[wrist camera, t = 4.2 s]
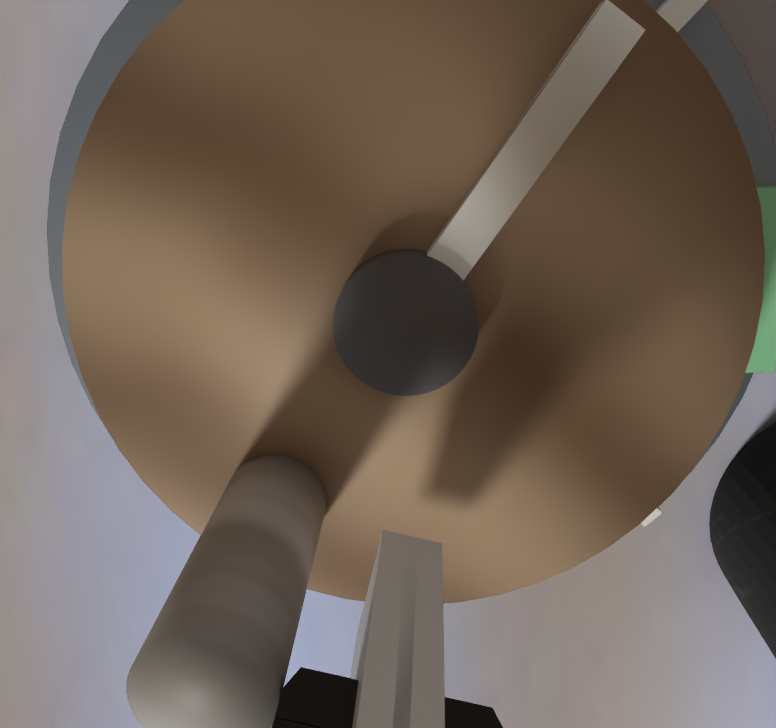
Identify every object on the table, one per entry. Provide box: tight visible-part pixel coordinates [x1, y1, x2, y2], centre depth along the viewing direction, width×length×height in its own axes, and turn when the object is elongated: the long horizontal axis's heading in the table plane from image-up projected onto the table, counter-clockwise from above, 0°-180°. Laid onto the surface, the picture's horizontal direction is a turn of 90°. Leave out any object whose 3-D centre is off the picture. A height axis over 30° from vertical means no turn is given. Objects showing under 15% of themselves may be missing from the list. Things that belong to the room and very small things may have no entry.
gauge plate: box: [47, 0, 776, 526], centre depth 17 cm, size 18×18×2 cm
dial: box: [62, 0, 765, 728], centre depth 13 cm, size 15×15×8 cm
